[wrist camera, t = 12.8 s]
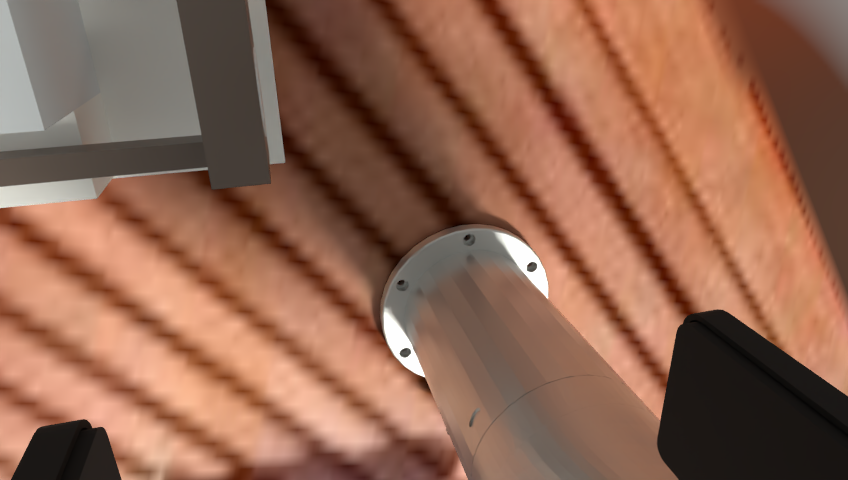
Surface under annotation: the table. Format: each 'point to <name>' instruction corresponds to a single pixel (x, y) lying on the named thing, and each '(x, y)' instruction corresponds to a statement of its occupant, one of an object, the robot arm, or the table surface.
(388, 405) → the table surface
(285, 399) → the table surface
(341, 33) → the table surface
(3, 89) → the stand
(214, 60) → the grey frame
